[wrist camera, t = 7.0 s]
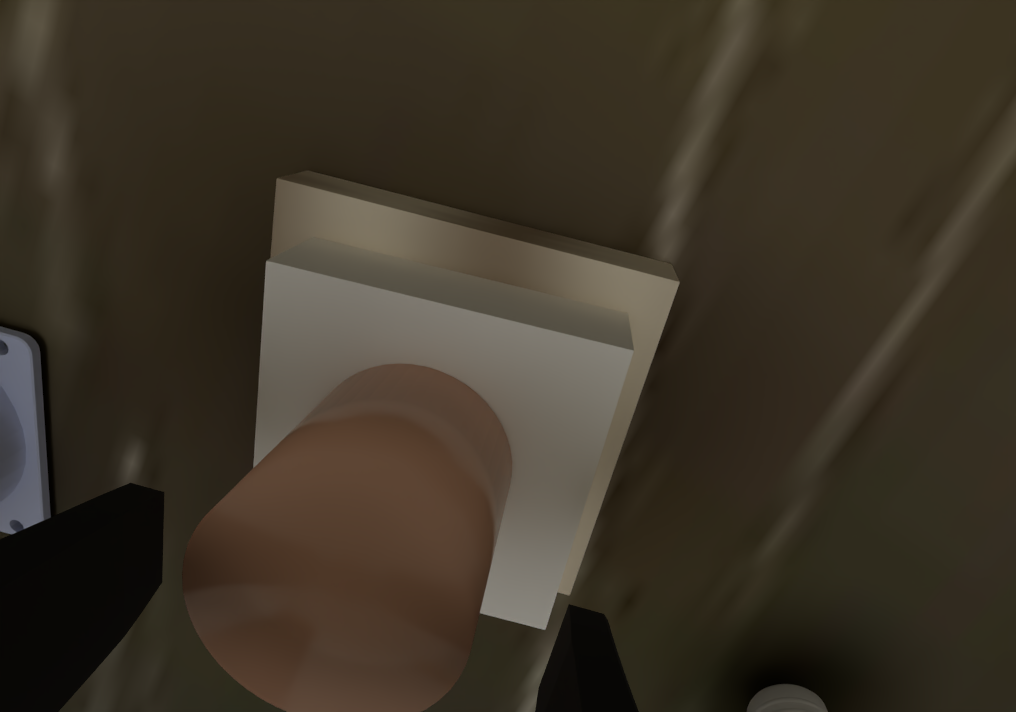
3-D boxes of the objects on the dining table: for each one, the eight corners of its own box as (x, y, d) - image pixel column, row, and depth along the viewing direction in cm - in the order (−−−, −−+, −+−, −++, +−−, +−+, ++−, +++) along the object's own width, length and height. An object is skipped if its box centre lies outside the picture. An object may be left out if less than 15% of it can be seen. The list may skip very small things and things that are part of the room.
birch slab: (286, 464, 22) (250, 508, 19) (318, 167, 18) (276, 178, 15) (572, 541, 21) (569, 595, 19) (668, 258, 17) (679, 281, 15)
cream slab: (290, 497, 19) (248, 552, 17) (313, 237, 16) (265, 260, 14) (551, 564, 19) (545, 630, 16) (627, 313, 16) (633, 350, 13)
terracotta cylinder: (302, 520, 16) (179, 683, 11) (321, 341, 14) (185, 445, 9) (490, 568, 16) (445, 757, 11) (532, 392, 14) (501, 524, 9)
